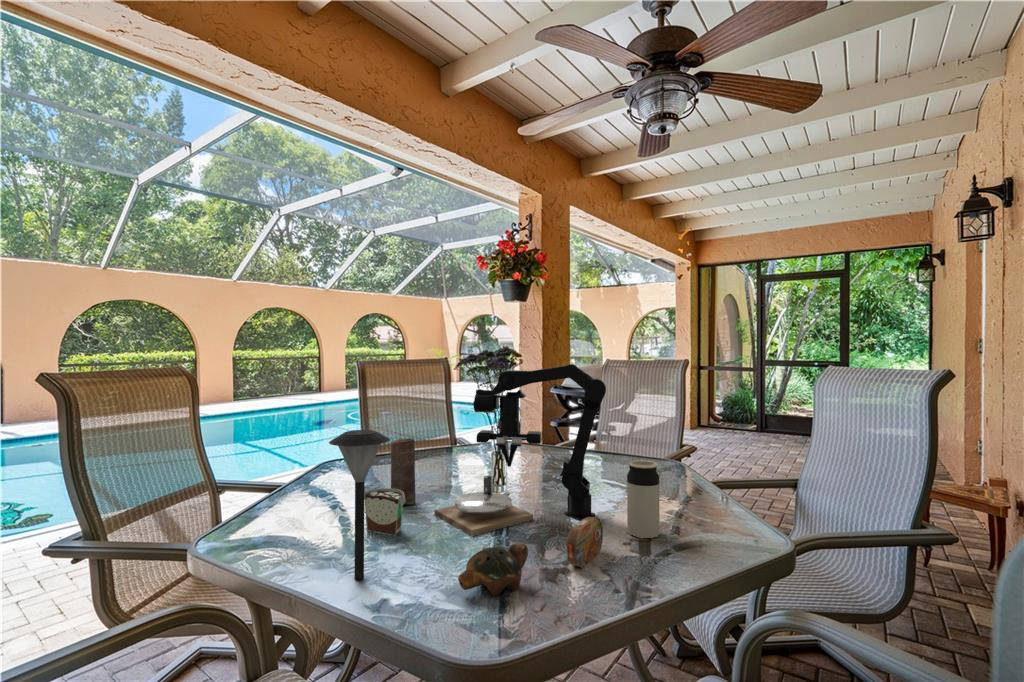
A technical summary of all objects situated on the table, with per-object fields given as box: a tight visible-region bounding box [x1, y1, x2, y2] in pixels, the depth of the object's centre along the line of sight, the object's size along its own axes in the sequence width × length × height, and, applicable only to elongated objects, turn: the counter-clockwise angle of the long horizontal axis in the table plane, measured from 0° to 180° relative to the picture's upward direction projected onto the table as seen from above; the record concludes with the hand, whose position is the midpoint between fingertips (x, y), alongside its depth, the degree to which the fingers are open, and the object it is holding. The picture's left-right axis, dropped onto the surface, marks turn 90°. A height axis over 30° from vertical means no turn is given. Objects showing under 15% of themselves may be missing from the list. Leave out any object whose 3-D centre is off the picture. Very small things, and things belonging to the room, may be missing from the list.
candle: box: [390, 437, 416, 505], centre depth 150 cm, size 8×7×20 cm
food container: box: [364, 487, 406, 537], centre depth 128 cm, size 12×6×10 cm, turn 65°
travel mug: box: [626, 459, 661, 539], centre depth 125 cm, size 8×8×18 cm
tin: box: [566, 516, 604, 569], centre depth 110 cm, size 15×3×8 cm, turn 148°
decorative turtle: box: [457, 542, 529, 597], centre depth 96 cm, size 10×15×8 cm, turn 125°
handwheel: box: [454, 475, 513, 514], centre depth 138 cm, size 16×16×8 cm
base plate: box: [434, 504, 534, 537], centre depth 137 cm, size 20×20×2 cm
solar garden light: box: [328, 429, 391, 582], centre depth 100 cm, size 12×12×30 cm
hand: (509, 466), depth 143 cm, fingers closed
